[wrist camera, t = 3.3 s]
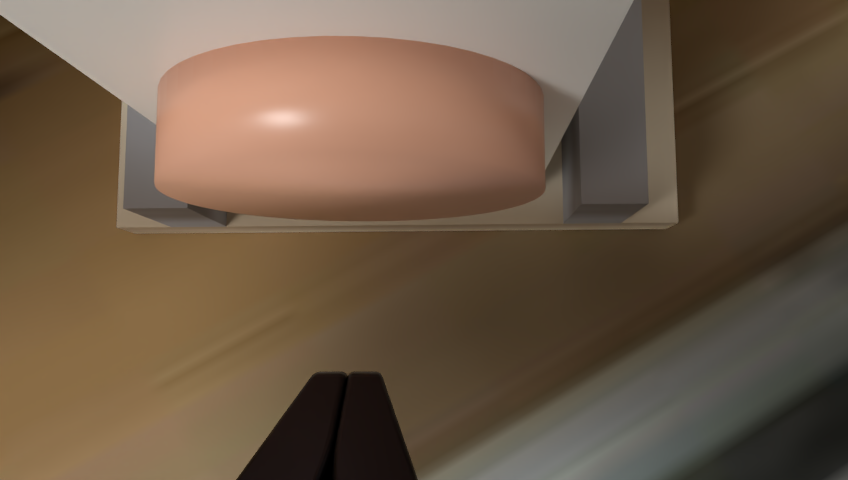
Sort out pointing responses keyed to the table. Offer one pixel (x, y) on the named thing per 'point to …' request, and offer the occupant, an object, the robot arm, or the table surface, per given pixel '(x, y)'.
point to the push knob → (340, 96)
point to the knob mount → (564, 176)
